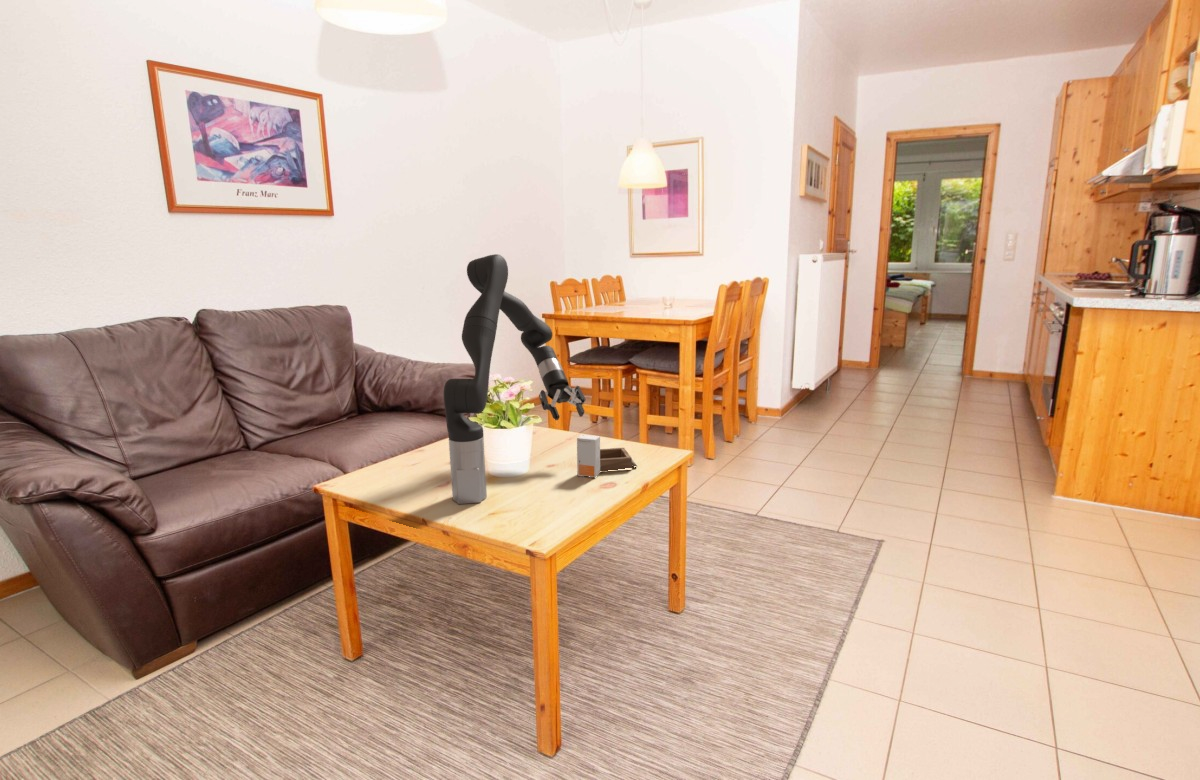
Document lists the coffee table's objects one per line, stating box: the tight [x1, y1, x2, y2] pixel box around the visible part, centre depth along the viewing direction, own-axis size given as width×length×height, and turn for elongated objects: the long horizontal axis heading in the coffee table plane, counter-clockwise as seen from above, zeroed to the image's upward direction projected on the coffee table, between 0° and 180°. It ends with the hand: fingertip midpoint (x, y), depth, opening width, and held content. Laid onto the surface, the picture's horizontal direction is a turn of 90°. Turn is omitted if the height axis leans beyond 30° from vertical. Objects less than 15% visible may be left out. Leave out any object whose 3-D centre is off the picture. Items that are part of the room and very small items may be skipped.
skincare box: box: [576, 434, 601, 478], centre depth 189 cm, size 6×4×12 cm
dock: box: [600, 447, 638, 471], centre depth 198 cm, size 11×13×4 cm
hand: (570, 417), depth 196 cm, fingers open, 8 cm apart
